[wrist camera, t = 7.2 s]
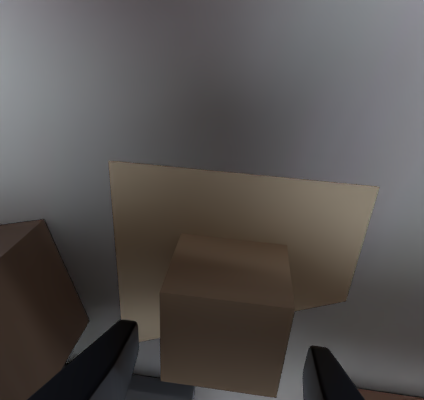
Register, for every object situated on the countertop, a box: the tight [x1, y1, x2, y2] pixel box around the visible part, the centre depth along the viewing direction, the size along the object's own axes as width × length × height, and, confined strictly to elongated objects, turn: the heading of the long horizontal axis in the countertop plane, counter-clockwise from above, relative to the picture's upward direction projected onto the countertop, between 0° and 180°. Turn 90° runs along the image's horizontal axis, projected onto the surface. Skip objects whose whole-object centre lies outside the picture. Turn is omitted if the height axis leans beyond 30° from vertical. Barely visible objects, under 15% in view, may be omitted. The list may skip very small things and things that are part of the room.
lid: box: [108, 161, 379, 398], centre depth 10 cm, size 7×7×4 cm
